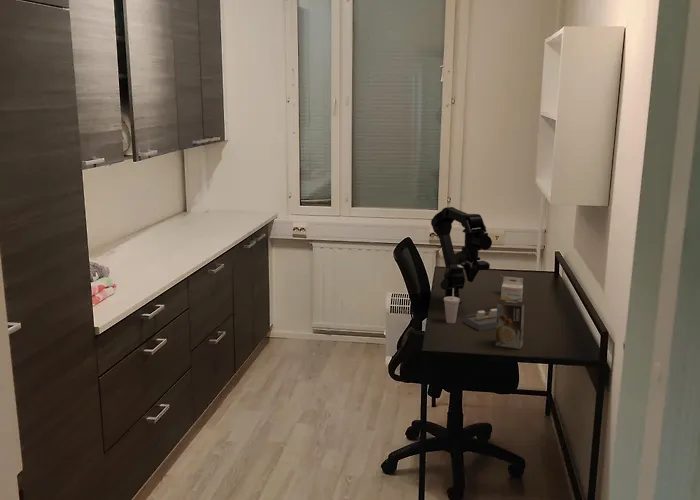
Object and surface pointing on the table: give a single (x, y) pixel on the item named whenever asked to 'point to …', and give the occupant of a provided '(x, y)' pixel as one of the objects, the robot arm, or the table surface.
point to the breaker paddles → (481, 314)
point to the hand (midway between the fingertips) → (470, 281)
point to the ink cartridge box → (512, 289)
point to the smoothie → (451, 308)
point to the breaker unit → (481, 322)
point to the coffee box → (510, 323)
